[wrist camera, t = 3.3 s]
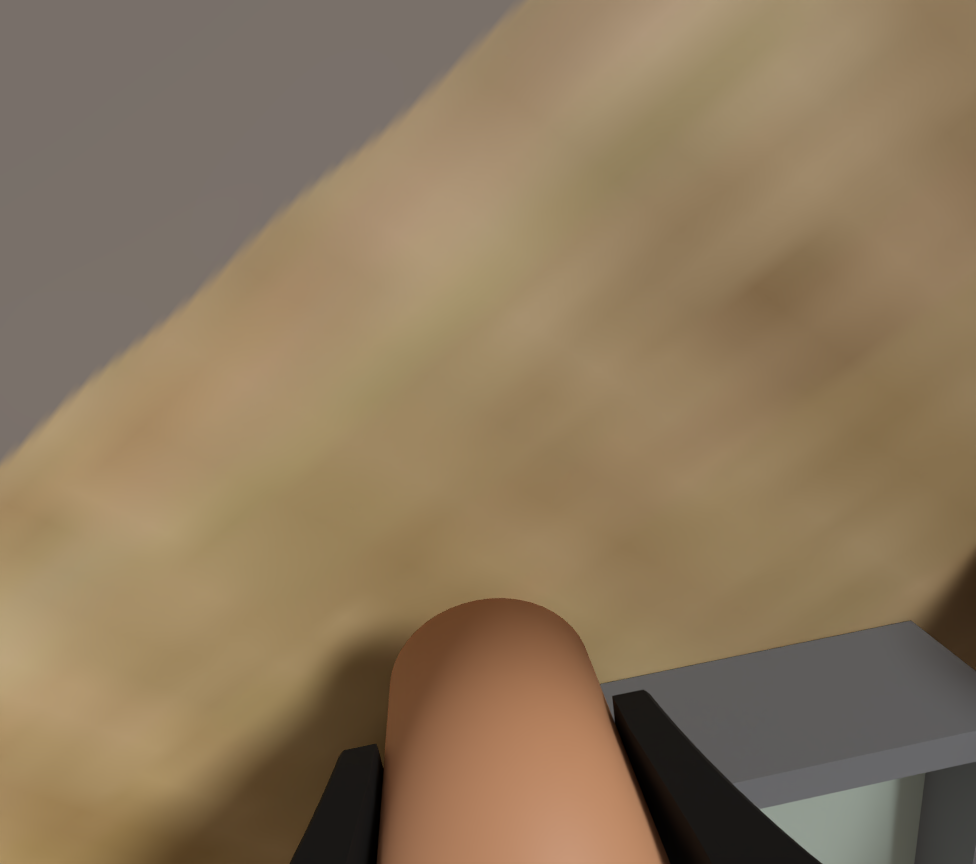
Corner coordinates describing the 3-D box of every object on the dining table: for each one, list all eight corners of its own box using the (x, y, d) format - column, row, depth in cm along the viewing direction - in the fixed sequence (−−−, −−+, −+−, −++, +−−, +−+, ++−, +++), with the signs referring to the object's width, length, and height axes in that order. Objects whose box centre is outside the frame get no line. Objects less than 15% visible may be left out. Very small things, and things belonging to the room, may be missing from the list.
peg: (580, 580, 12) (714, 875, 7) (599, 741, 14) (723, 1097, 8) (370, 620, 12) (322, 962, 6) (411, 780, 13) (402, 1174, 8)
